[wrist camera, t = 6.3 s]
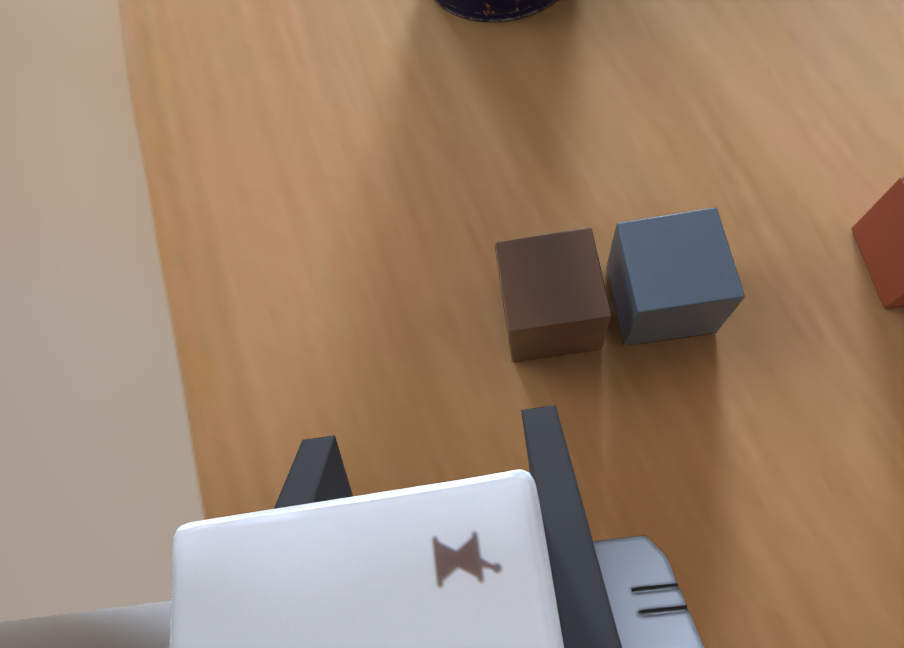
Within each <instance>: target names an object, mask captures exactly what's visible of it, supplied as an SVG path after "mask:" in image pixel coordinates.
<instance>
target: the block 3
mask: <svg viewBox="0 0 904 648" xmlns="http://www.w3.org/2000/svg"><path fill="white" fill-rule="evenodd" d="M852 231H853V233H854V236H855V238H856V240H857V243H858V245H859V248H860V250H861V253H862V255H863V257H864V260H865V262H866V265H867V267H868V270H869V272H870V275H871V277H872V279H873V282H874V284H875V287H876V289H877V292H878V294H879V296H880V299H881V301H882V304H883V306H884V308H892V307H899V306H904V177H901V178H899V180H898V181H897V182H896V183H895V184H894V185H893V186H892V187H891V188H890V189H889V190H888V191H887V192H886V193H885V194H884V195H883V196H882V197H881V198H880V199H879V200H878V201H877V202H876V203H875V204H874V206H873V207H872V208H871V209H870V210H869V211H868V212H867V213H866V214H865V215H864V216H863V217H862V218H861V219H860V220H859V221H858V222H857V223H856V224H855V225H854V226H853V227H852Z"/></svg>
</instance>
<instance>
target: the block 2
mask: <svg viewBox="0 0 904 648" xmlns="http://www.w3.org/2000/svg"><path fill="white" fill-rule="evenodd" d="M607 271H608V276H609V280H610V284H611V289H612V293H613V297H614V302H615V306H616V311H617V315H618V319H619V324H620V328H621V332H622V337H623V341H624V345H625V346H628V345H635V344H642V343H649V342H655V341H662V340H669V339H676V338H683V337H690V336H697V335H704V334H711V333H716V332H717V331H718V330H719V328H720V327H721V326H722V325H723V323H724V322H725V321H726V320H727V318H728V317H729V316H730V315H731V313H732V312H733V311H734V310H735V309H736V307H737V306H738V305H739V304H740V302H741V301H742V300H743V299H744V297H745V295H744V292H743V289H742V286H741V282H740V279H739V276H738V273H737V270H736V267H735V264H734V261H733V257H732V254H731V251H730V248H729V245H728V242H727V239H726V235H725V232H724V229H723V226H722V223H721V220H720V217H719V213H718V210H717V208H716V207H715V208H709V209H702V210H696V211H690V212H684V213H678V214H672V215H665V216H659V217H653V218H647V219H641V220H634V221H628V222H622V223H617V225H616V229H615V234H614V238H613V242H612V246H611V250H610V255H609V259H608V263H607Z"/></svg>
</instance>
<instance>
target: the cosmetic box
mask: <svg viewBox="0 0 904 648" xmlns="http://www.w3.org/2000/svg"><path fill="white" fill-rule="evenodd" d="M170 648H564V644H563V638H562V632H561V626H560V620H559V614H558V608H557V602H556V596H555V591H554V585H553V579H552V573H551V567H550V561H549V555H548V549H547V543H546V538H545V532H544V526H543V520H542V514H541V508H540V503H539V498H538V493H537V488H536V484H535V481H534V479H533V478H532V476H531V475H530V473H529V472H527V471H525V470H521V469H518V470H512V471H507V472H501V473H496V474H490V475H484V476H479V477H473V478H468V479H461V480H455V481H449V482H442V483H436V484H430V485H423V486H417V487H411V488H404V489H398V490H392V491H385V492H379V493H373V494H366V495H360V496H354V497H347V498H341V499H335V500H328V501H322V502H316V503H309V504H303V505H297V506H290V507H284V508H278V509H271V510H265V511H258V512H252V513H246V514H239V515H233V516H227V517H220V518H214V519H207V520H202V521H195V522H189V523H187V524H185V525H182V526H180V527H179V528H178V530H177V531H176V533H175V535H174V537H173V569H172V595H171V623H170Z"/></svg>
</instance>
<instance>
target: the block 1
mask: <svg viewBox="0 0 904 648" xmlns="http://www.w3.org/2000/svg"><path fill="white" fill-rule="evenodd" d="M495 250H496V257H497V264H498V272H499V279H500V286H501V292H502V299H503V305H504V312H505V318H506V325H507V331H508V338H509V344H510V351H511V357H512V362H518V361H524V360H531V359H538V358H545V357H552V356H559V355H566V354H573V353H580V352H587V351H594V350H601V348H602V345H603V342H604V339H605V335H606V332H607V329H608V326H609V322H610V319H611V312H610V307H609V303H608V299H607V294H606V290H605V285H604V281H603V276H602V272H601V267H600V263H599V258H598V254H597V250H596V245H595V241H594V236H593V232H592V228H584V229H578V230H572V231H566V232H559V233H553V234H547V235H541V236H535V237H528V238H522V239H516V240H510V241H504V242H498V243H495Z"/></svg>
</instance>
